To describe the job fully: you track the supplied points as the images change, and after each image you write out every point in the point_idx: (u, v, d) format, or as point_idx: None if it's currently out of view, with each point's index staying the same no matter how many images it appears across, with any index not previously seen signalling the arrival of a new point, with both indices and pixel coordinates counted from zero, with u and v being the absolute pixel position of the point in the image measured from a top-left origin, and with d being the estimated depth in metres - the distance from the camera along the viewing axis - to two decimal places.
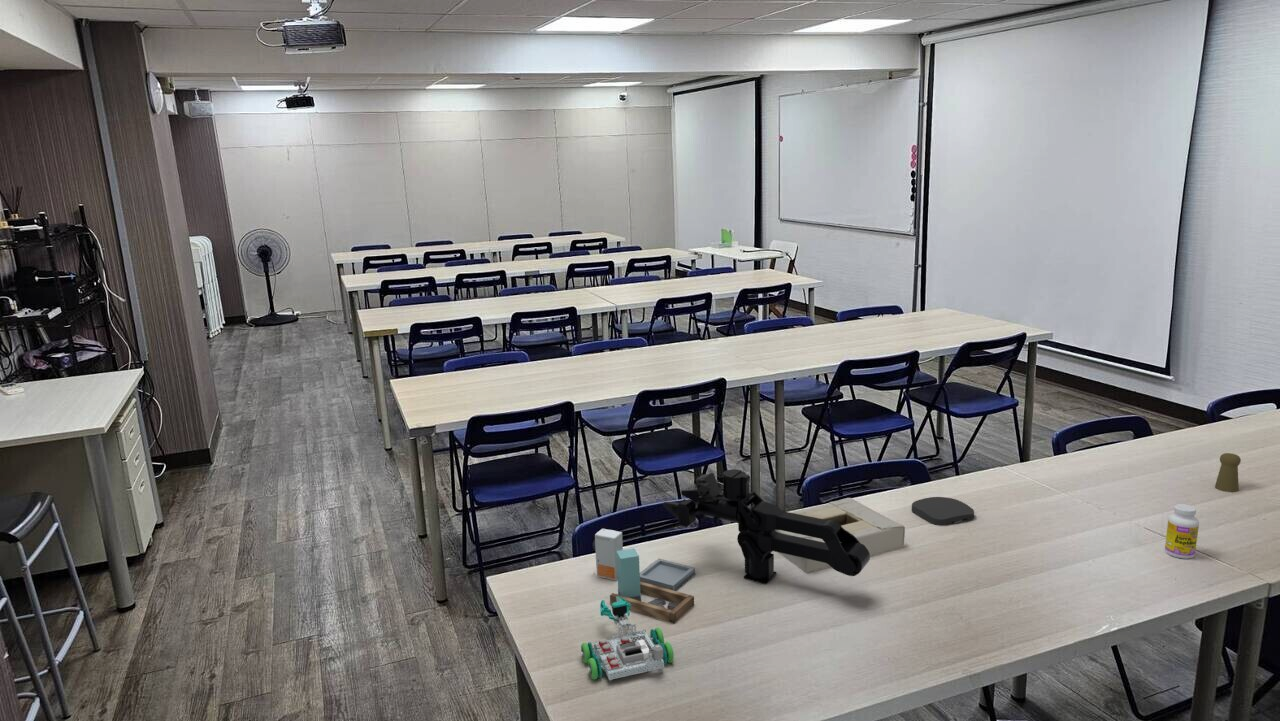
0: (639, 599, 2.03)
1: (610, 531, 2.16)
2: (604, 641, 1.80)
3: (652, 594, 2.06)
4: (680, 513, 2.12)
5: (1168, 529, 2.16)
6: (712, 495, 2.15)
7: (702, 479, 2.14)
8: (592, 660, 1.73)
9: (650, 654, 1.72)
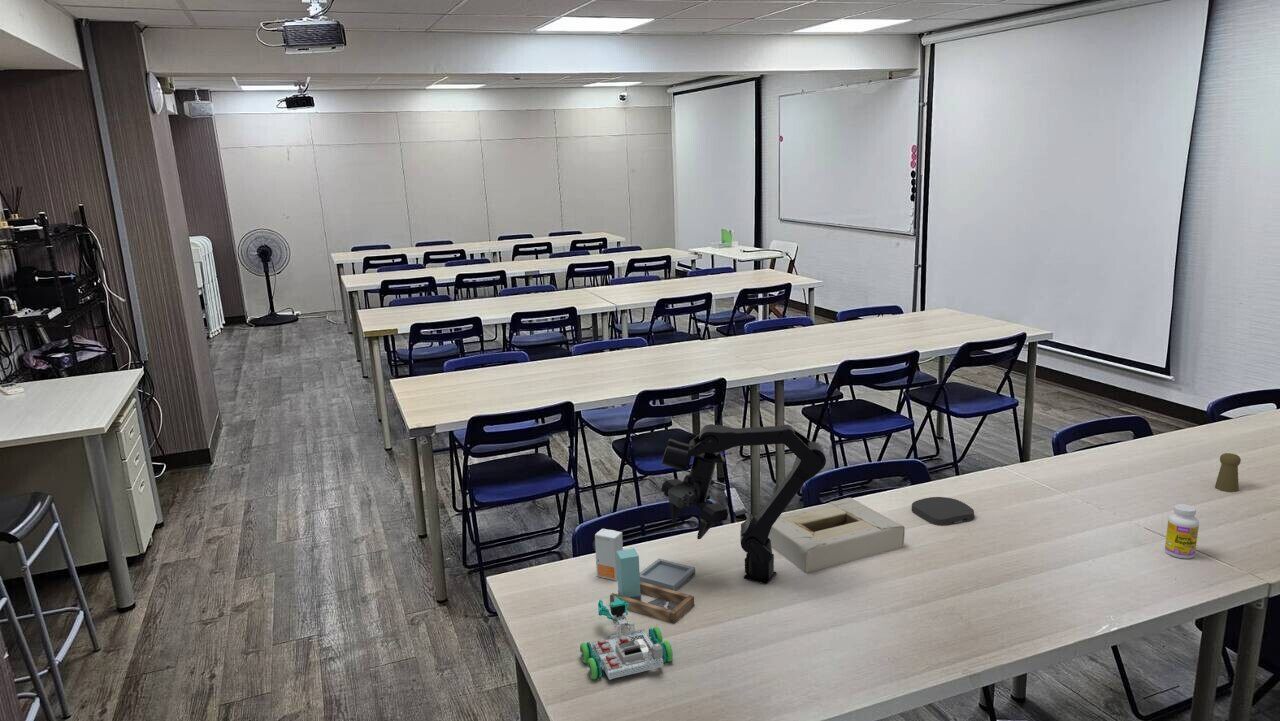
0: (639, 599, 2.03)
1: (610, 531, 2.16)
2: (603, 641, 1.80)
3: (652, 594, 2.06)
4: (718, 519, 2.04)
5: (1168, 529, 2.16)
6: (692, 488, 2.06)
7: (681, 500, 2.03)
8: (592, 660, 1.73)
9: (650, 653, 1.73)
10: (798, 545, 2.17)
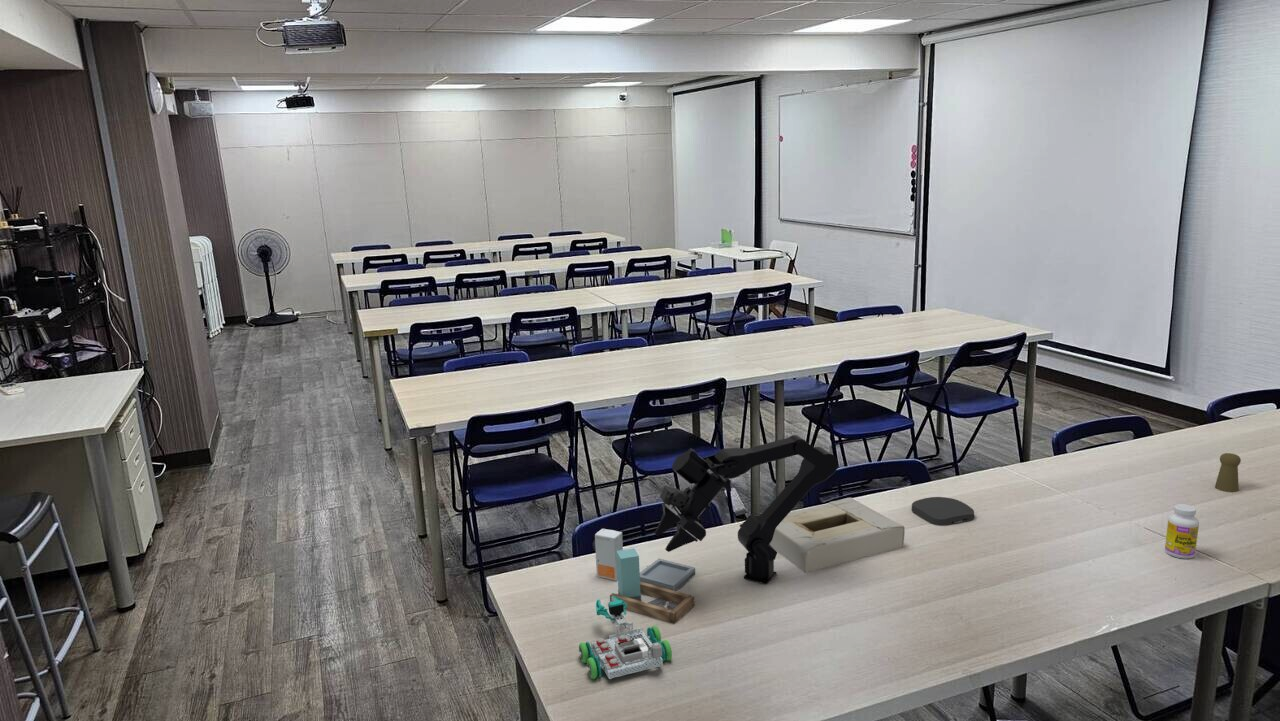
0: (639, 599, 2.03)
1: (610, 531, 2.16)
2: (602, 640, 1.80)
3: (652, 594, 2.06)
4: (691, 531, 1.96)
5: (1168, 529, 2.16)
6: (686, 496, 2.02)
7: (669, 494, 2.00)
8: (591, 659, 1.73)
9: (649, 652, 1.73)
10: (798, 545, 2.17)
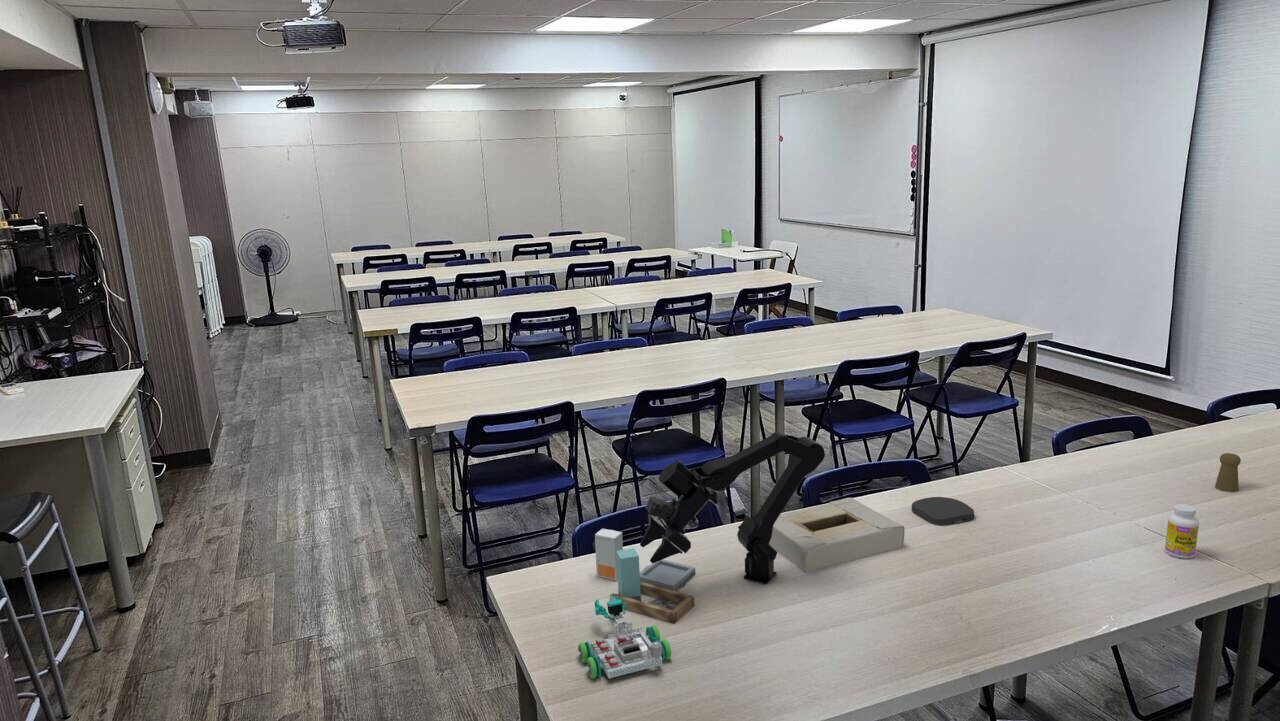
0: (639, 599, 2.03)
1: (610, 531, 2.16)
2: (601, 640, 1.80)
3: (652, 594, 2.06)
4: (676, 543, 1.95)
5: (1168, 529, 2.16)
6: (672, 507, 2.02)
7: (654, 505, 1.99)
8: (591, 659, 1.73)
9: (649, 651, 1.73)
10: (798, 545, 2.17)
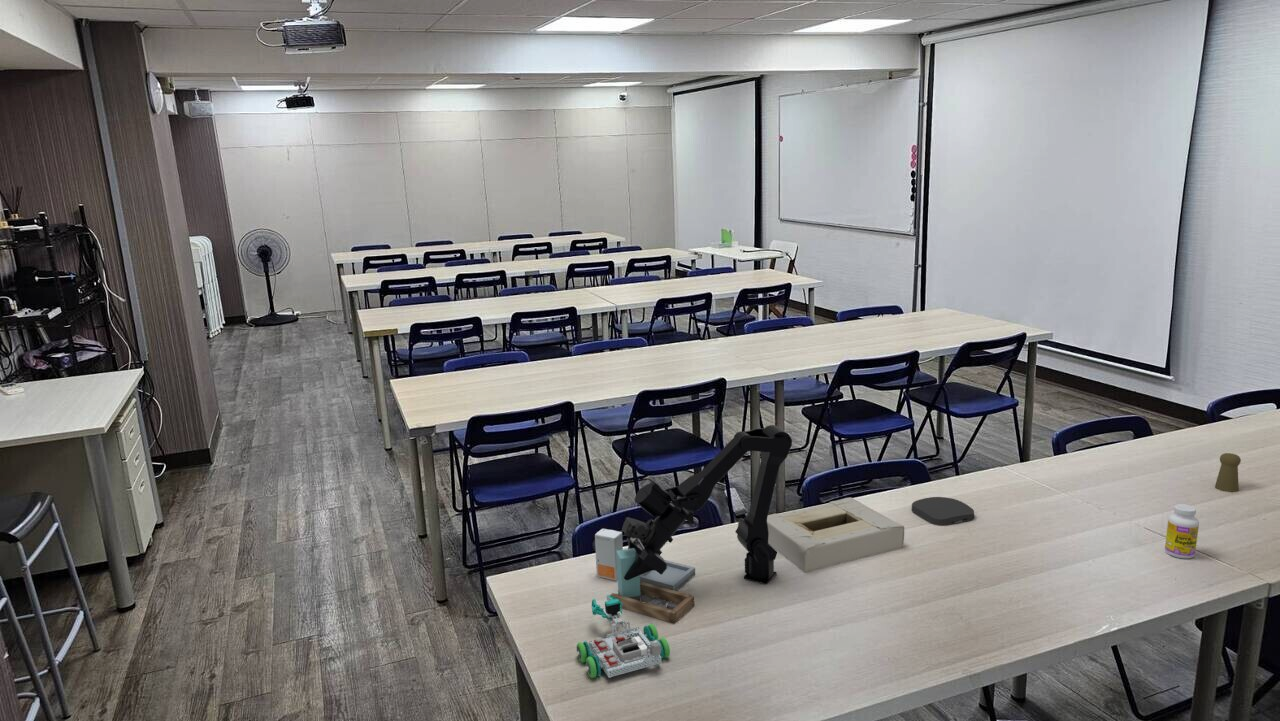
0: (639, 599, 2.03)
1: (610, 531, 2.16)
2: (600, 639, 1.81)
3: (652, 594, 2.06)
4: (652, 565, 1.95)
5: (1168, 529, 2.16)
6: (648, 528, 2.01)
7: (630, 527, 1.99)
8: (590, 659, 1.74)
9: (648, 650, 1.74)
10: (797, 544, 2.17)
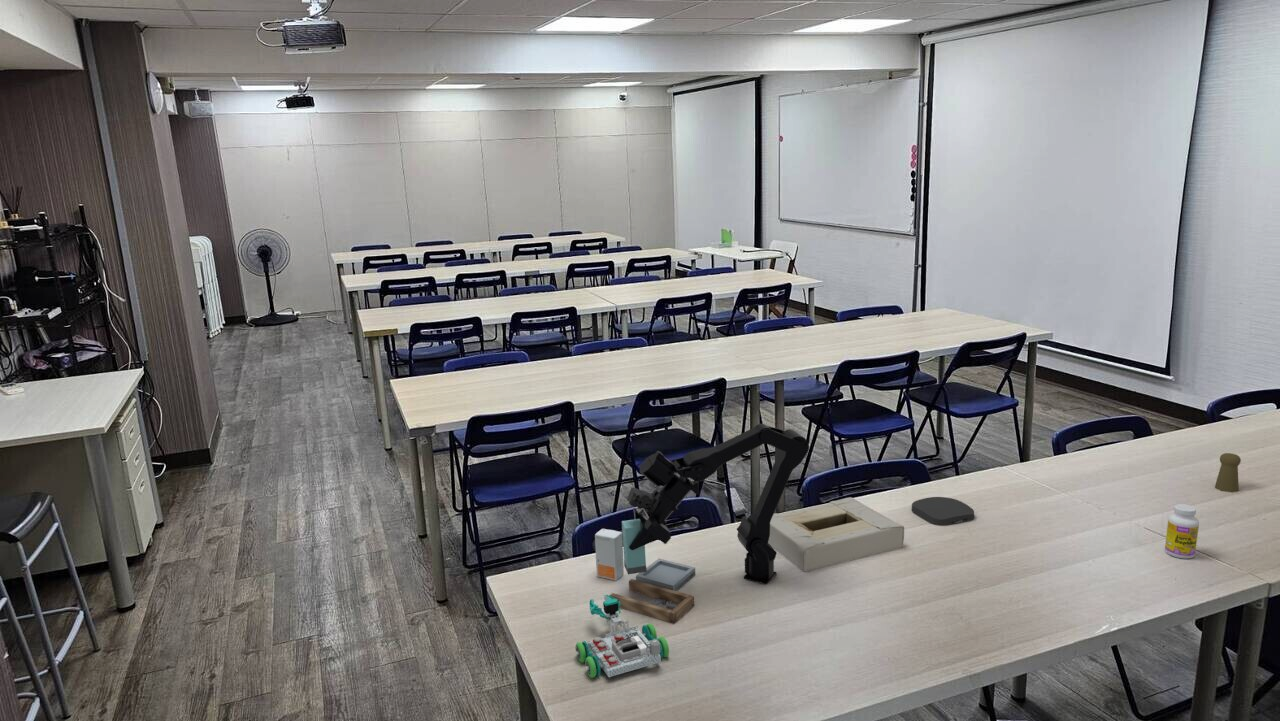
0: (644, 569, 2.04)
1: (610, 531, 2.16)
2: (599, 639, 1.81)
3: (652, 594, 2.06)
4: (656, 534, 1.95)
5: (1168, 529, 2.16)
6: (653, 498, 2.01)
7: (634, 496, 1.99)
8: (590, 658, 1.74)
9: (648, 649, 1.74)
10: (797, 544, 2.17)
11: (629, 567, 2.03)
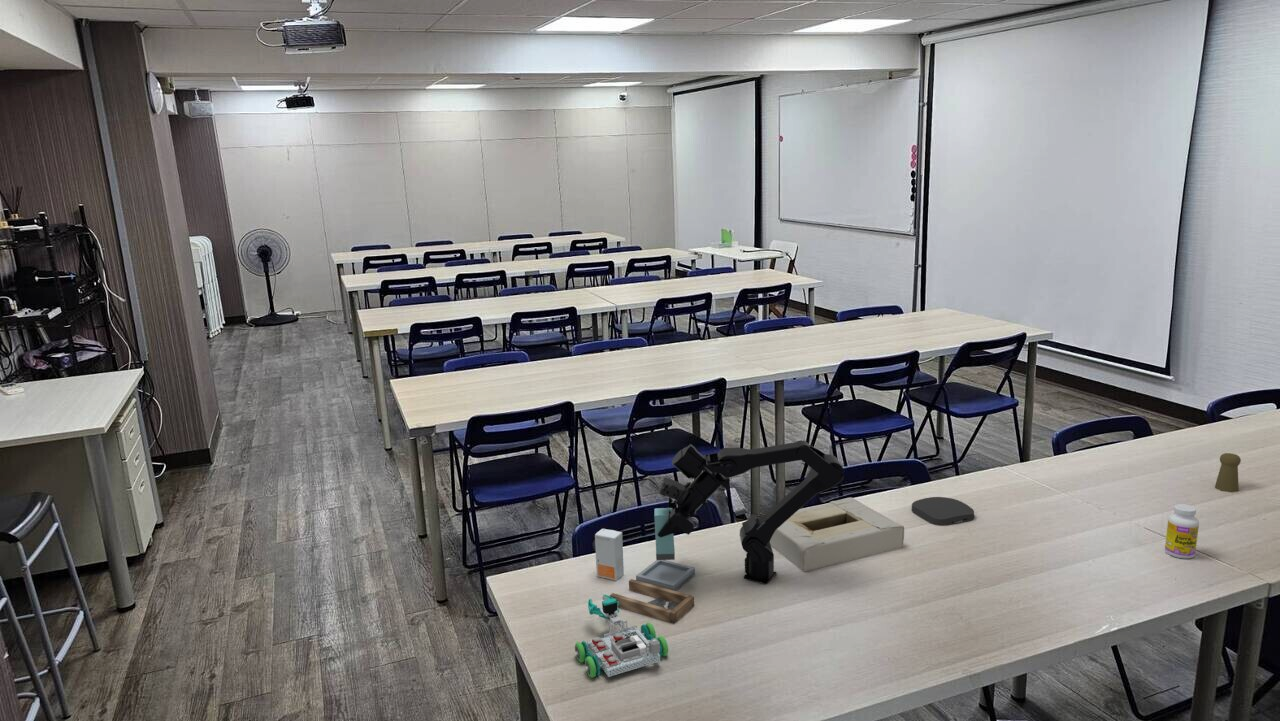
0: (673, 557, 2.11)
1: (610, 531, 2.16)
2: (598, 639, 1.81)
3: (652, 594, 2.06)
4: (678, 524, 2.01)
5: (1168, 529, 2.16)
6: (683, 489, 2.07)
7: (664, 486, 2.06)
8: (590, 658, 1.74)
9: (647, 649, 1.74)
10: (797, 544, 2.17)
11: (657, 553, 2.11)
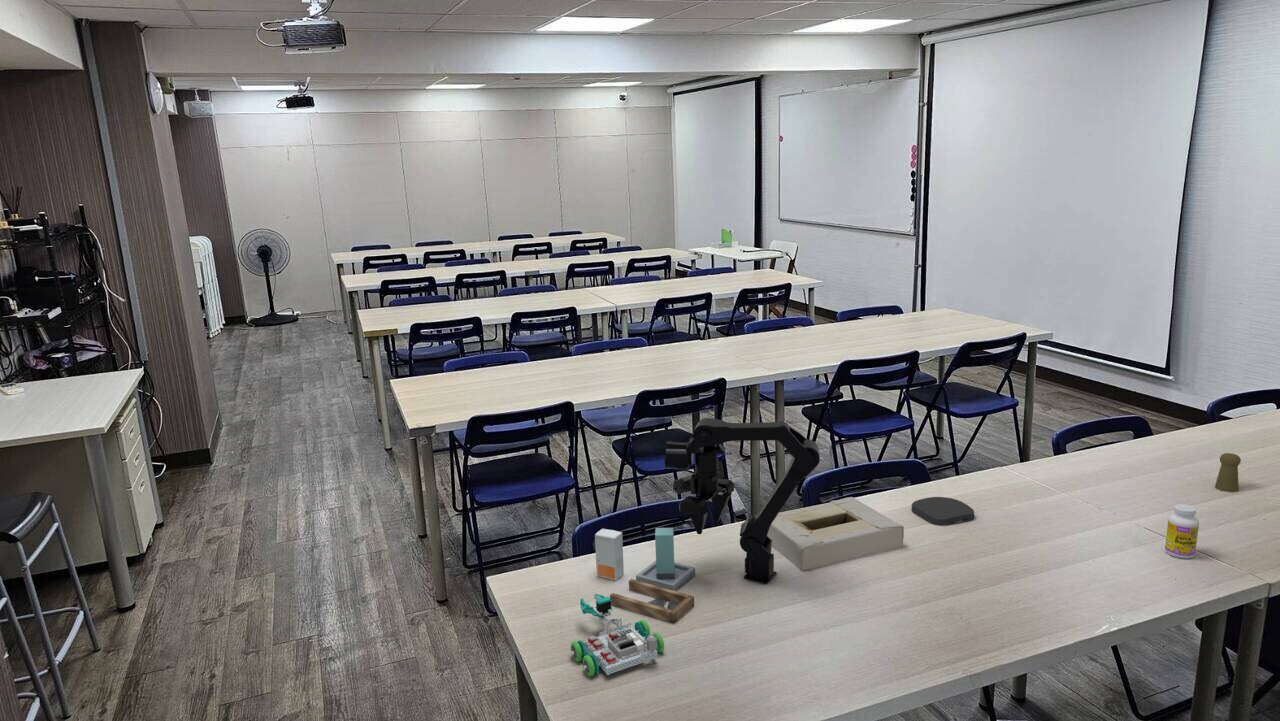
0: (673, 577, 2.12)
1: (610, 531, 2.16)
2: (594, 638, 1.81)
3: (652, 594, 2.06)
4: (686, 510, 2.04)
5: (1168, 529, 2.16)
6: (691, 478, 2.11)
7: None
8: (588, 657, 1.74)
9: (645, 645, 1.76)
10: (795, 543, 2.18)
11: (658, 573, 2.12)
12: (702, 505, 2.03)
